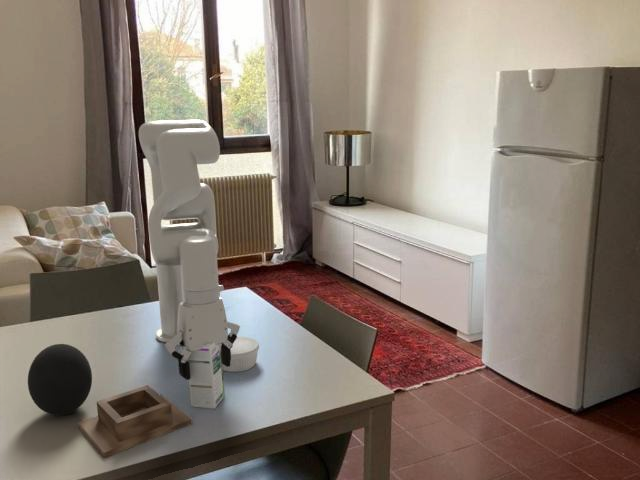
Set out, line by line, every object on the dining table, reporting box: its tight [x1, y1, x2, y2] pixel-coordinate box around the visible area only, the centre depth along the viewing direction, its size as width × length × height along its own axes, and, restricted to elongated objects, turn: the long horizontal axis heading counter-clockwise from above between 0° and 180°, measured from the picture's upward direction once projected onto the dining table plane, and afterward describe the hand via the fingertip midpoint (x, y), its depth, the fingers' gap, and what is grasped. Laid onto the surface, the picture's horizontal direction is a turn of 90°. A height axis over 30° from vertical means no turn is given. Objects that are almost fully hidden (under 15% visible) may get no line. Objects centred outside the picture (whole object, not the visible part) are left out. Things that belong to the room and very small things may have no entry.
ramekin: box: [221, 336, 260, 373], centre depth 148 cm, size 11×11×5 cm
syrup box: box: [187, 343, 226, 410], centre depth 129 cm, size 6×6×14 cm
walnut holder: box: [78, 384, 193, 458], centre depth 121 cm, size 18×14×5 cm
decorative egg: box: [27, 343, 93, 416], centre depth 125 cm, size 12×12×15 cm
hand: (206, 371), depth 128 cm, fingers open, 9 cm apart
